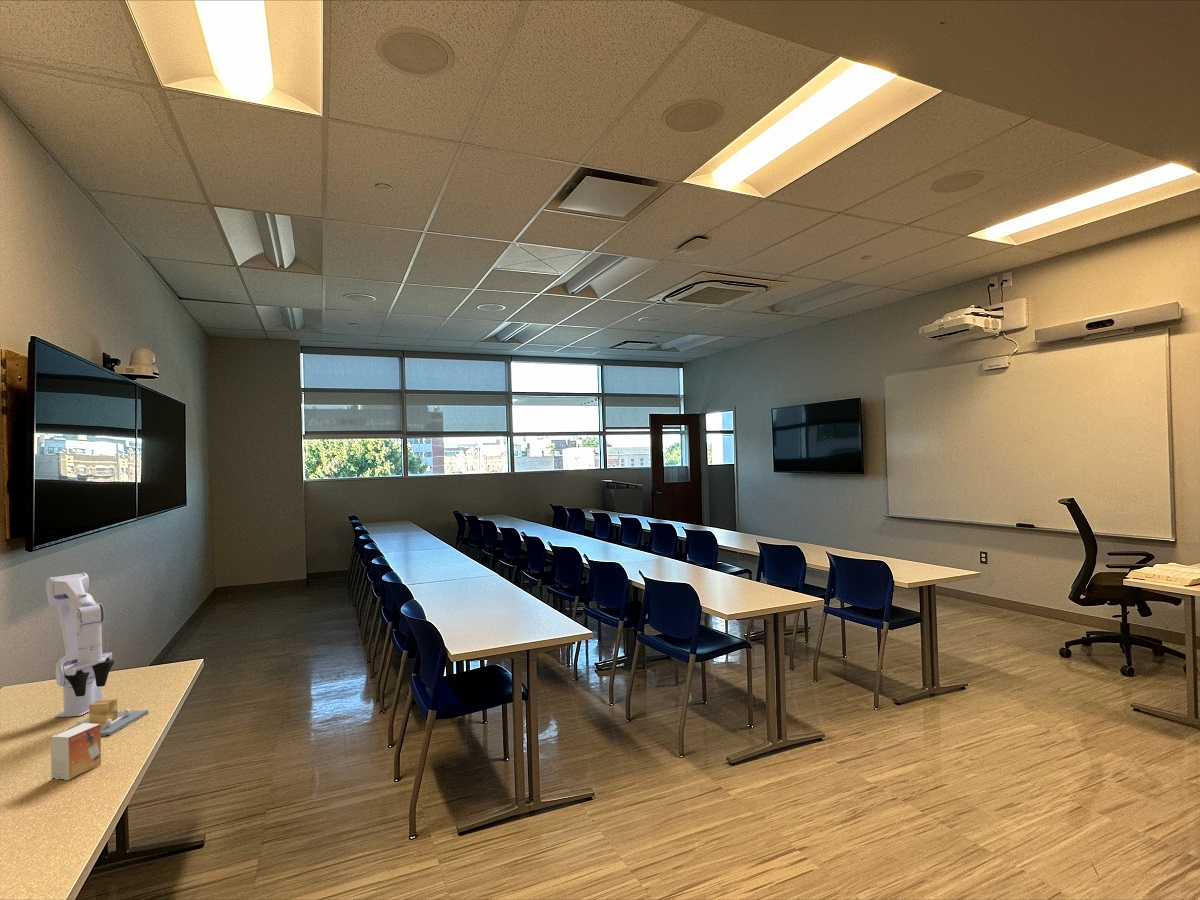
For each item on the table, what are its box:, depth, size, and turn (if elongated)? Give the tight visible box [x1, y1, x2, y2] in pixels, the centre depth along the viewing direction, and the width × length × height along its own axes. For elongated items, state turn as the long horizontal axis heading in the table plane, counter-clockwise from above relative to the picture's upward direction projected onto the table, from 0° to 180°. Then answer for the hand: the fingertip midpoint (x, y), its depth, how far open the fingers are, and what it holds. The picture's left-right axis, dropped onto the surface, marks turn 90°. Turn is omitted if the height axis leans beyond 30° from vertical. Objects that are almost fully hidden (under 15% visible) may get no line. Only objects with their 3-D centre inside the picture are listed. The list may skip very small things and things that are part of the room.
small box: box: [50, 723, 102, 781], centre depth 150 cm, size 8×6×10 cm
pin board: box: [58, 708, 149, 737], centre depth 177 cm, size 15×15×3 cm
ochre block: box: [88, 698, 118, 725], centre depth 177 cm, size 4×5×6 cm
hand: (90, 690), depth 180 cm, fingers open, 7 cm apart
